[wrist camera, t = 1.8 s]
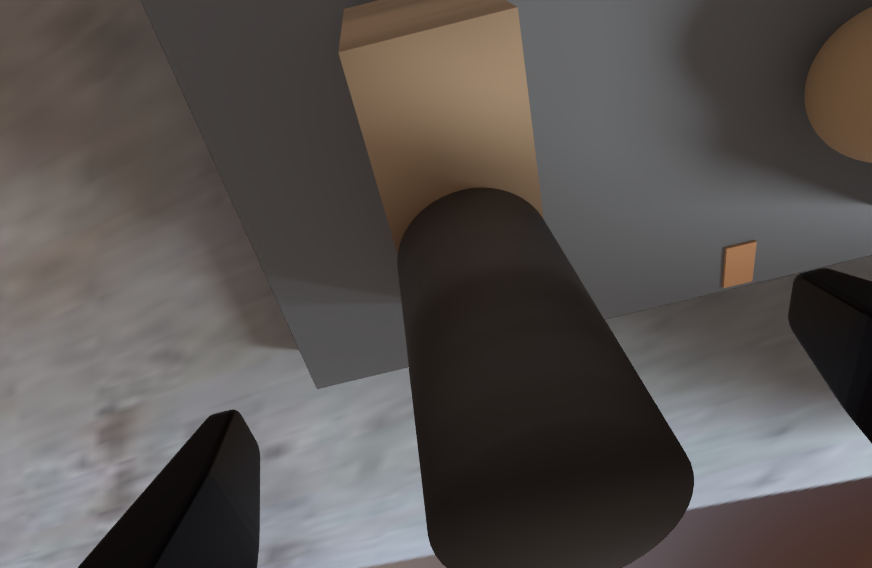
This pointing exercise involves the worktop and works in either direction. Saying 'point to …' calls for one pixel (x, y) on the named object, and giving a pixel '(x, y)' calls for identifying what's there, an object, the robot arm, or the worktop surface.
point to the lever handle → (500, 308)
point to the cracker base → (549, 151)
